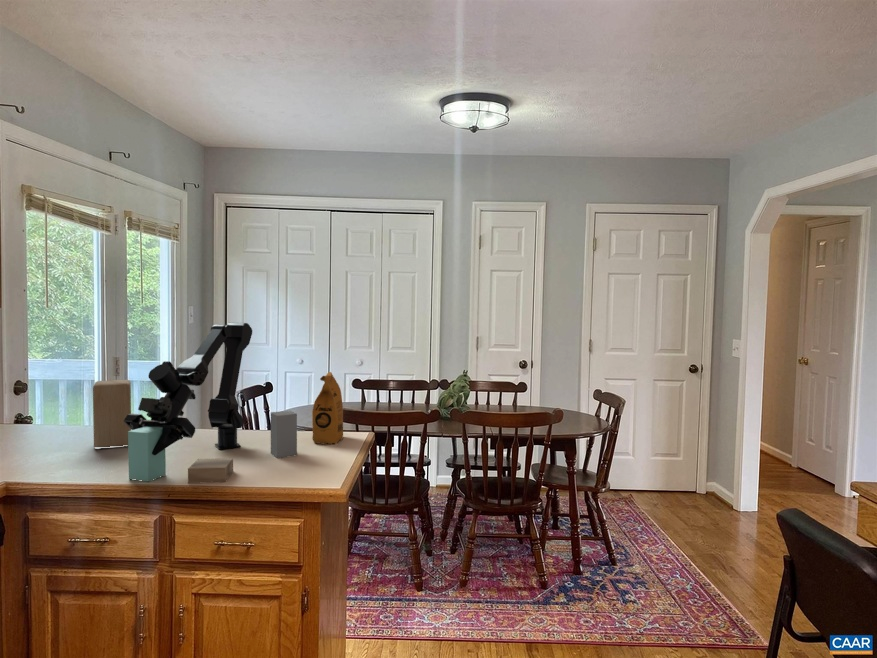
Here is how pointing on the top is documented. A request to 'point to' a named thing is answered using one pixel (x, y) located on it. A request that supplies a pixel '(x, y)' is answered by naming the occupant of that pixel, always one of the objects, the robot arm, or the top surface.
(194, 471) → the taupe square slab
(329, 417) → the coffee package
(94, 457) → the top surface
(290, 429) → the grey rectangular pillar
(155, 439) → the teal pillar
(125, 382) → the block
